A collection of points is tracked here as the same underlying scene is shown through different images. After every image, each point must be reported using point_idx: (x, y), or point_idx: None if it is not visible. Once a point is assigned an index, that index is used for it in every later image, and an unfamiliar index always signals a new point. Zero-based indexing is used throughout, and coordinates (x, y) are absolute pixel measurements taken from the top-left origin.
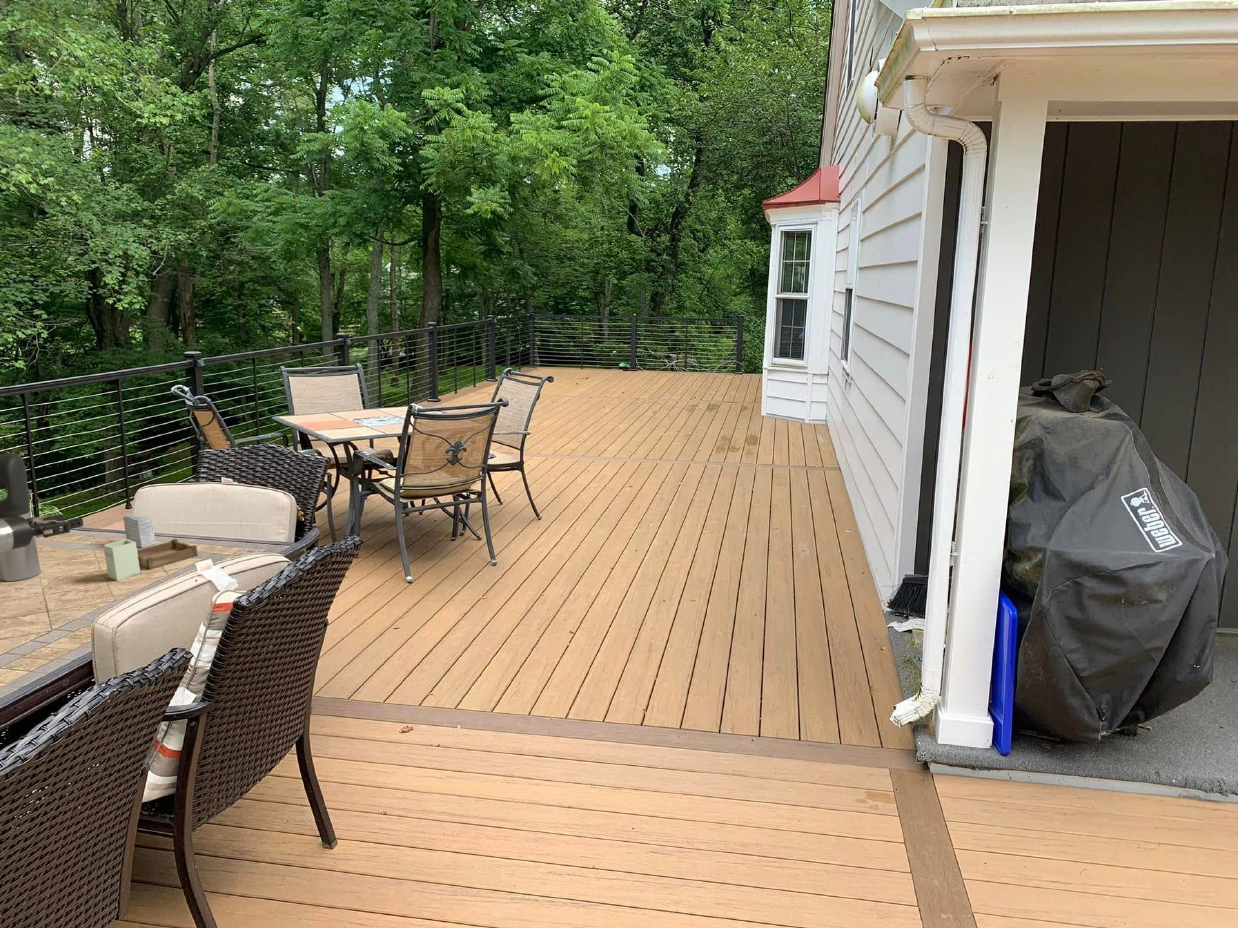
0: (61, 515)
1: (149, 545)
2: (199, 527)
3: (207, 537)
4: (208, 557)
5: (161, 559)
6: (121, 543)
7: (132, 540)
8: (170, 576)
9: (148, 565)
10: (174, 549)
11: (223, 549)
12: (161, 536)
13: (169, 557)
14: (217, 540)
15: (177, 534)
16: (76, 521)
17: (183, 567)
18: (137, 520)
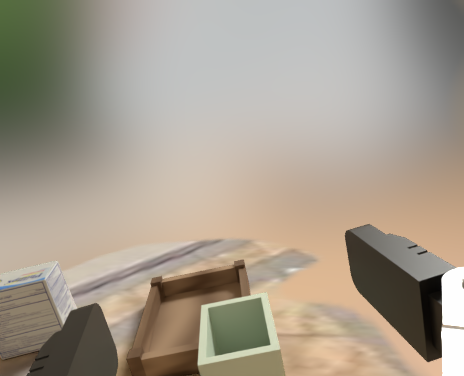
0: (96, 312)
1: None
2: (83, 264)
3: (150, 261)
4: (276, 270)
5: None
6: (209, 326)
7: (25, 341)
8: (369, 334)
9: None
10: (171, 299)
11: (248, 252)
12: None
13: None
14: (185, 254)
15: (74, 288)
16: (424, 251)
17: (310, 306)
18: (42, 279)
